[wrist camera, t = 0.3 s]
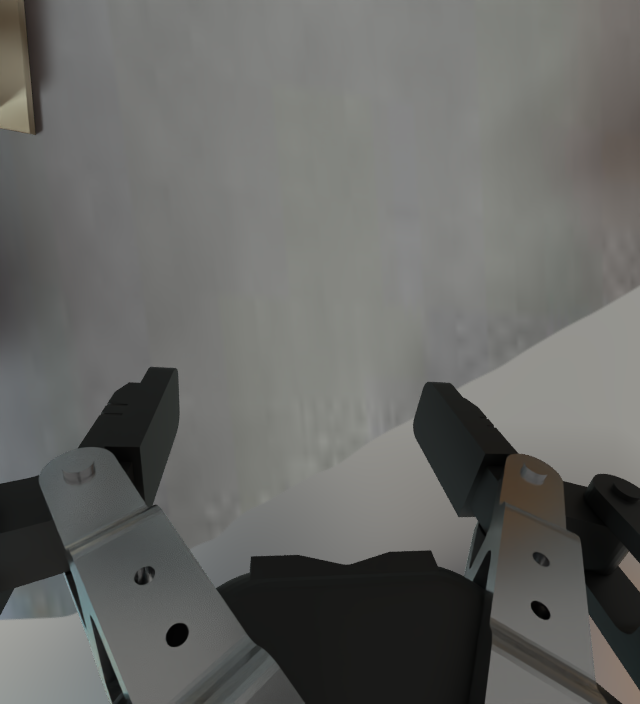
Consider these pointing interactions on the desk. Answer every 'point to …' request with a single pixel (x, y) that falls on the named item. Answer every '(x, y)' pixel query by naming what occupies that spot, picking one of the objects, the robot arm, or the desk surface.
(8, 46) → the mounting cradle
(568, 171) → the desk surface
